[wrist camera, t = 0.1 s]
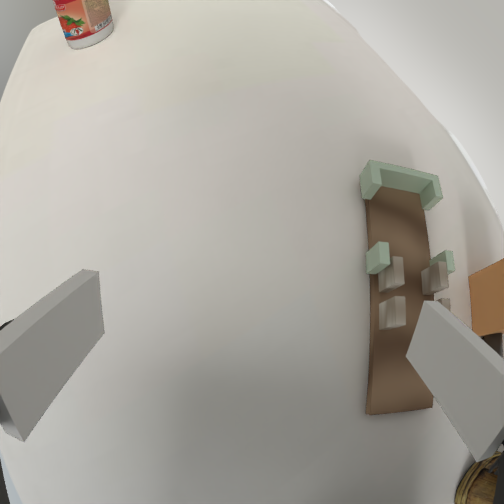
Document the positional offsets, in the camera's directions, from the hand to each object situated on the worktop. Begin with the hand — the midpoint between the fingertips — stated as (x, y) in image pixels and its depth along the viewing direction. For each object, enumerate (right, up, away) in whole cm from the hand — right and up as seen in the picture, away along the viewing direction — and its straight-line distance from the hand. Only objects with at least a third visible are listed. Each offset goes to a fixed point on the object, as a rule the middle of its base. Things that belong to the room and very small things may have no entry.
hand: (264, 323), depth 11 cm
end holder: (+15, +5, +18) cm, 24 cm away
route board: (+14, -1, +17) cm, 22 cm away
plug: (+26, -7, +16) cm, 31 cm away
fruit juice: (-30, +43, +30) cm, 61 cm away
